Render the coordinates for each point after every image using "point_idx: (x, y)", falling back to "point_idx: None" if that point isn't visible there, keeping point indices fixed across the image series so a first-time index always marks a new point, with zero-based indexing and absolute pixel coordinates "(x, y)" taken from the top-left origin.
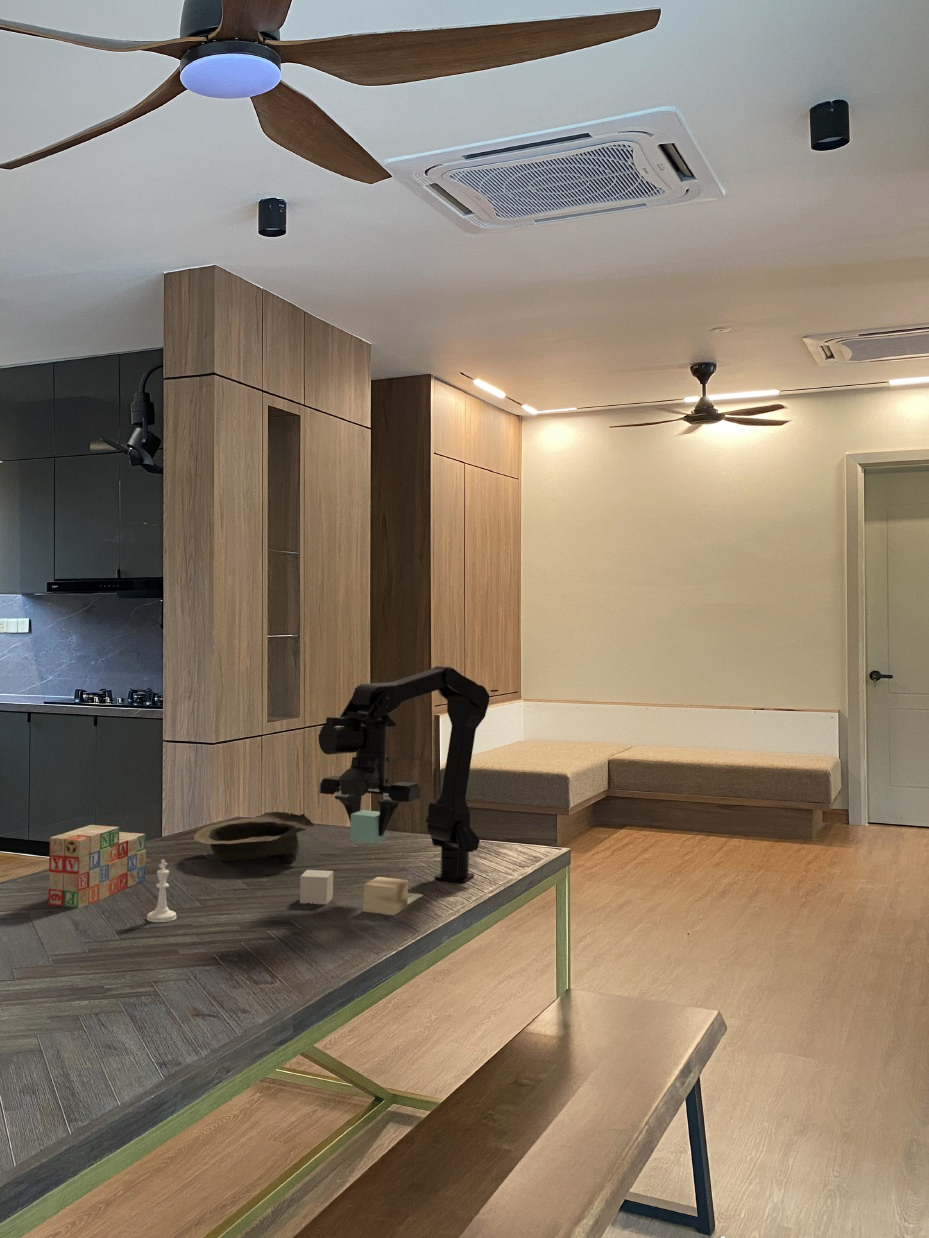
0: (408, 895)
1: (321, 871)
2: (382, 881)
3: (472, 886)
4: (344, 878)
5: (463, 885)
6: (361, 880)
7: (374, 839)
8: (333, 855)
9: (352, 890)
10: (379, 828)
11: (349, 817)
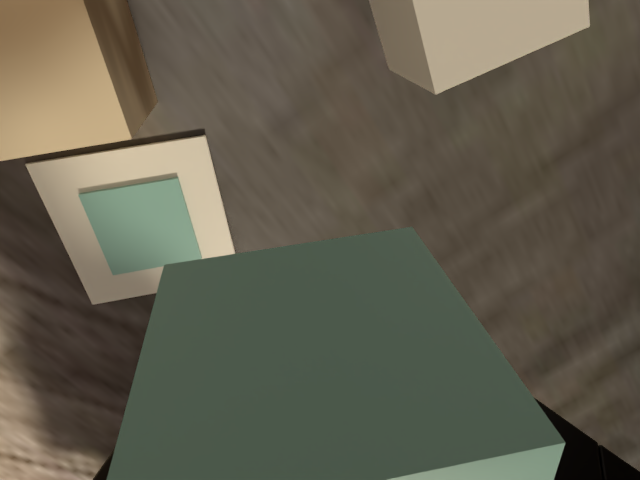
0: (114, 255)
1: (494, 42)
2: (6, 44)
3: (58, 466)
4: (474, 313)
5: (90, 458)
6: None
7: (160, 294)
8: None
9: (371, 209)
10: None
11: (568, 430)
